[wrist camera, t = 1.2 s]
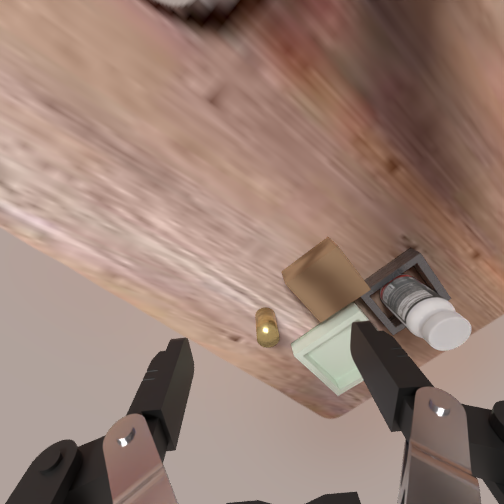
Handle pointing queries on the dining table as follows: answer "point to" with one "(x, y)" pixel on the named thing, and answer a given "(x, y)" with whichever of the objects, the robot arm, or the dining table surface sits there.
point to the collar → (392, 272)
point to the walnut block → (324, 280)
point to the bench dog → (266, 327)
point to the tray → (332, 350)
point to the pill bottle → (425, 313)
